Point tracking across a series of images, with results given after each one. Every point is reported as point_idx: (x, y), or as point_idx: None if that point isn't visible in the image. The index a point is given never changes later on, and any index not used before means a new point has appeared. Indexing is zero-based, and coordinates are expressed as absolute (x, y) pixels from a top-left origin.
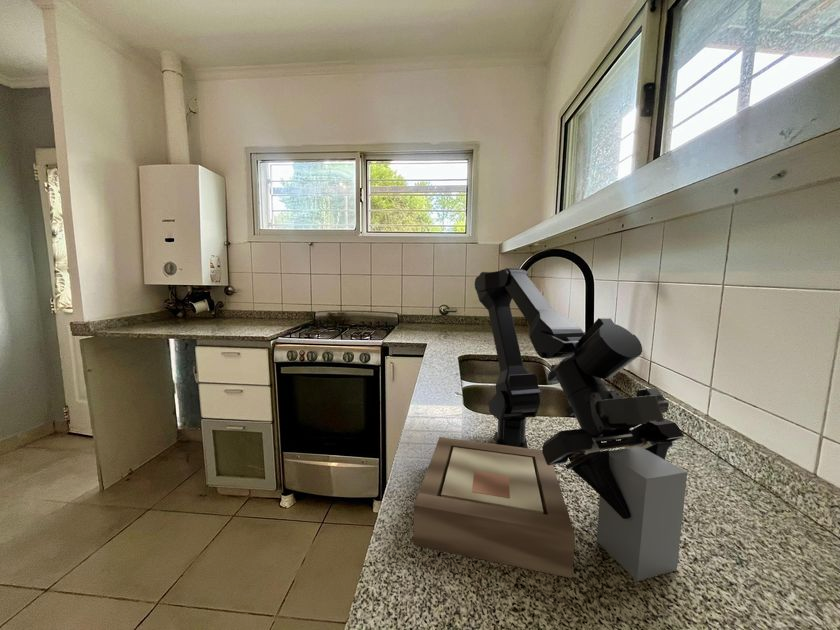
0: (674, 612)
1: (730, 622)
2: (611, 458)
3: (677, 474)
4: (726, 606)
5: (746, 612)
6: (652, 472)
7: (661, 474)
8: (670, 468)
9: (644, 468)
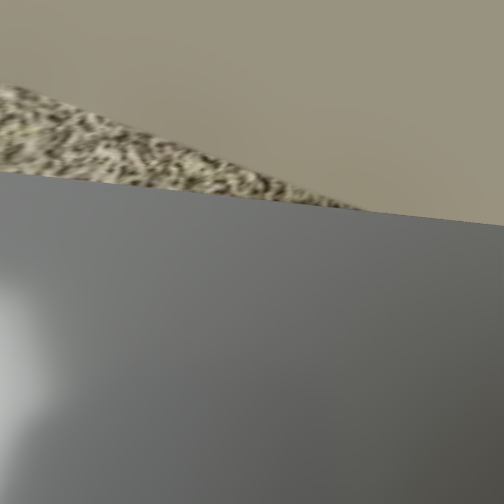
0: (277, 201)
1: (179, 144)
2: None
3: (86, 186)
4: (140, 168)
5: (111, 143)
6: (387, 306)
7: (323, 235)
8: (33, 300)
9: (401, 411)
